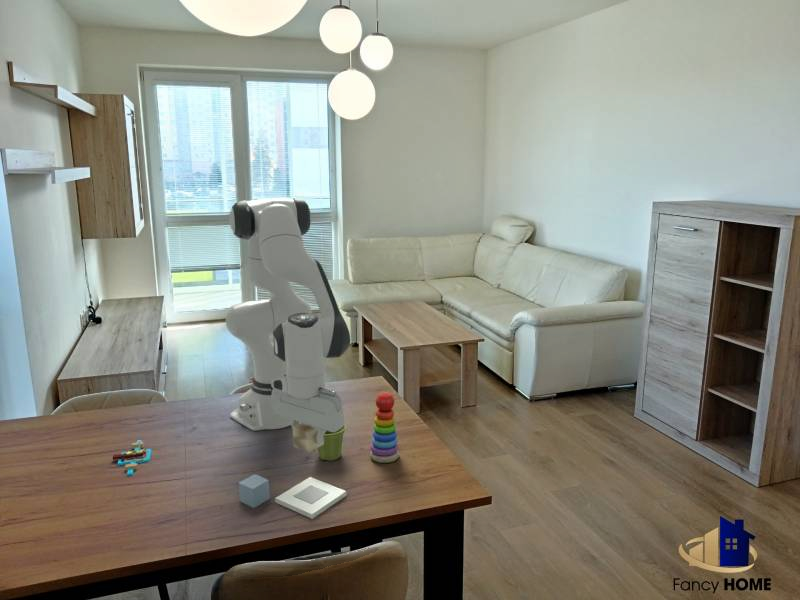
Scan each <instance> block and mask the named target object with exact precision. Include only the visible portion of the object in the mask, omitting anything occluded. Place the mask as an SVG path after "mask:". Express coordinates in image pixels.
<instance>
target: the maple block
mask: <svg viewBox="0 0 800 600" xmlns="http://www.w3.org/2000/svg"><path fill="white" fill-rule="evenodd" d="M317 434H318V431H317V430H316V427H314V426H311V425H308V424H305V423H301V422H299V424H298V425H296V426H294V427H293V428H292V439H293V442H292V443H293V448H296V449H299V450H301V451H304V452H305V453H311V452H312V451H314V450H316V449H317V450H318V447H320V446H322V445H324V441H323V443H321V444H317V443H314V436H315V435H317ZM323 440H324V435H323Z"/></svg>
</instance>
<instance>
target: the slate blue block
mask: <svg viewBox="0 0 800 600" xmlns="http://www.w3.org/2000/svg"><path fill="white" fill-rule="evenodd" d="M238 493H239V502H241V503H243V504H244V505H247V506H249V507H251V508H256V507H258V506H260V505H262V504H263V503H265V502H266V501H268V500H270V498H271V494H270V481H269V479H267V478H265V477H262V476H260V475H258V474H252V475H251V476H249V477H246V478H244V479H243V480H241V481H239V482H238Z"/></svg>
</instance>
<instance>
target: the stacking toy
mask: <svg viewBox="0 0 800 600" xmlns="http://www.w3.org/2000/svg"><path fill="white" fill-rule="evenodd" d="M375 405H376V408H377V410H376V412H375V418H374V423H375V424H374V425H373V433H372V436H373V437H372V440H371V445H370V453H369V457H370V458H371V460H373V461H374V462H376V463H381V464H388V463H389V464H390V463H392V462H394V461H396V460H398V458H399V456H400V452H399V450H398V449H399V446H398V437H397V431H396V429H397V426H396V423H395V422H396V419H395V417H394V416H395V411H394V409H393V408H394V405H395V397H394V396H393V394H391V393H389V392H387V391H385V392H380V393H378V395H377V396H376V398H375Z"/></svg>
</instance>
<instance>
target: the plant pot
mask: <svg viewBox="0 0 800 600" xmlns="http://www.w3.org/2000/svg"><path fill="white" fill-rule="evenodd" d="M346 428H347V425H346V423H344V426H343V427H342V428H341V429H340V430H338V431H336V432H330V431H327V430H326V432H325V434H324V445H322V446H320V447H318V448H317V454H318V457H319V459H320V460H322V461H323V460H326V461H335V460H337V459H339V458H340V457H341V456H342V451H343V449H342V448H343V439H344V434H345V431H346Z"/></svg>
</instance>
